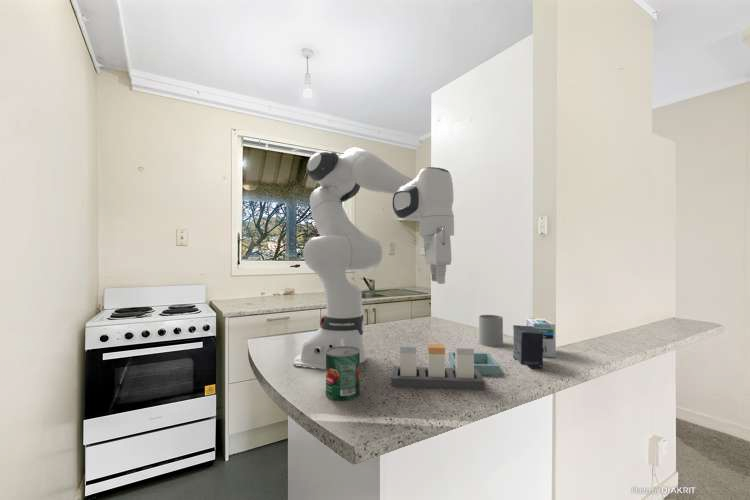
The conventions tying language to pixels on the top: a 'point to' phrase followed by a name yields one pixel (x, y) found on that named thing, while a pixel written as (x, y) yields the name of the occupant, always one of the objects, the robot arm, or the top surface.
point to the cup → (491, 330)
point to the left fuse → (408, 359)
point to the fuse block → (437, 380)
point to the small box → (528, 346)
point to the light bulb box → (545, 335)
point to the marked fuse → (436, 360)
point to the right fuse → (464, 361)
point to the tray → (483, 369)
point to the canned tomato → (342, 373)
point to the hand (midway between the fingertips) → (437, 282)
